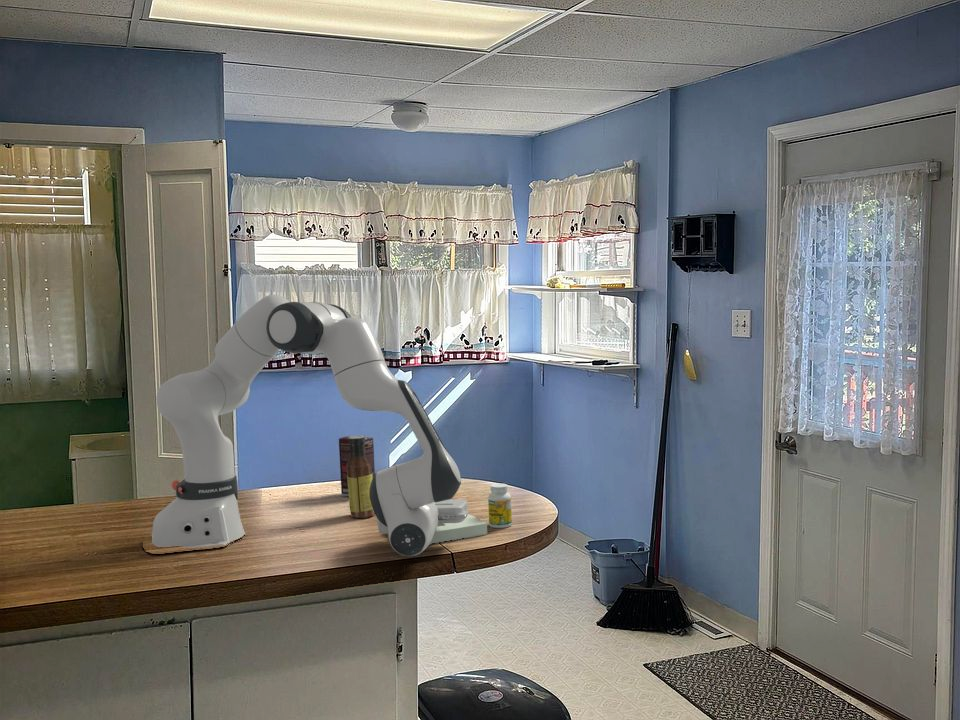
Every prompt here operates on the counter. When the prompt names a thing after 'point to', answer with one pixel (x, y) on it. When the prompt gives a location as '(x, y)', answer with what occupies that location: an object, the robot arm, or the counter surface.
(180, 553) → the counter surface
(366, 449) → the supplement box
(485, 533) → the socket board
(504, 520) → the supplement bottle
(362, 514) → the sauce bottle
